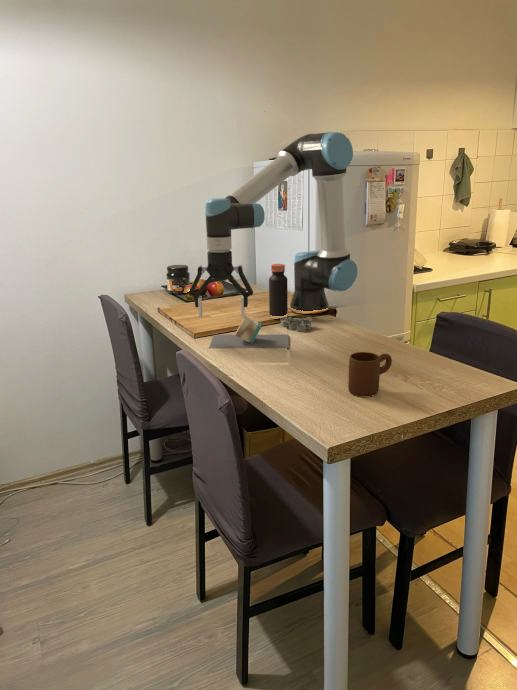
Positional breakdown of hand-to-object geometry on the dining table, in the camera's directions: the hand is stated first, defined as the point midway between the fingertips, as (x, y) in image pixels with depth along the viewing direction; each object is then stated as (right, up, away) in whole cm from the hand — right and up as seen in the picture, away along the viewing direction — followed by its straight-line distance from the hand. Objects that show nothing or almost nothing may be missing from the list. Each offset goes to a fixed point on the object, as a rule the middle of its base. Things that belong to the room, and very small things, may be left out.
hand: (221, 317), depth 174 cm
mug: (+40, -21, -36) cm, 58 cm away
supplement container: (-25, +15, +75) cm, 81 cm away
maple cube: (+6, -2, 0) cm, 6 cm away
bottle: (+19, +1, +30) cm, 36 cm away
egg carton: (+25, -3, +18) cm, 31 cm away
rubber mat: (+9, -8, +2) cm, 12 cm away
